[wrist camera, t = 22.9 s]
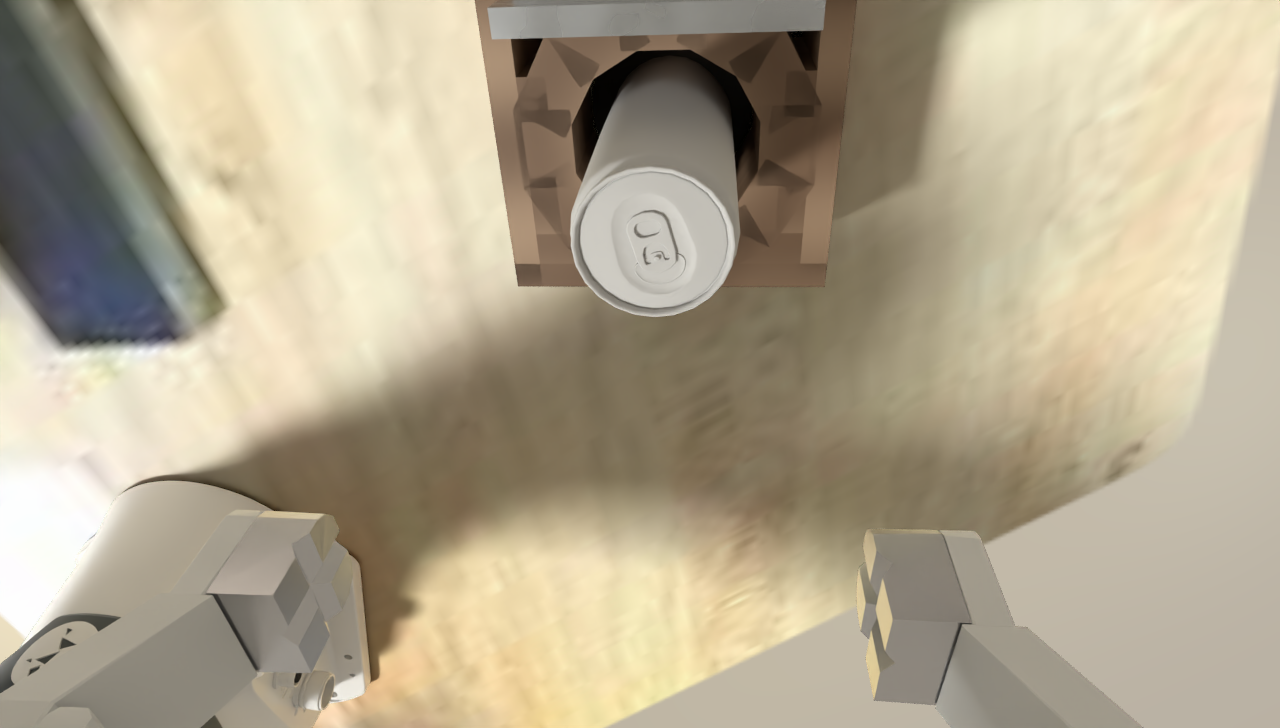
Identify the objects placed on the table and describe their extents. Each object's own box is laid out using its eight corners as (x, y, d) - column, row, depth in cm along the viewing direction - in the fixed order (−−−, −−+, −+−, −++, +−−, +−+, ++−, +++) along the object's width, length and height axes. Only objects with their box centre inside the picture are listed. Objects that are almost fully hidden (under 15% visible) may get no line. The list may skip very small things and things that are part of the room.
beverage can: (632, 184, 32) (598, 336, 22) (596, 72, 30) (539, 187, 20) (743, 155, 31) (758, 301, 21) (715, 35, 29) (717, 139, 19)
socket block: (810, 231, 33) (824, 286, 29) (541, 232, 34) (518, 286, 30) (855, -233, 24) (884, -247, 20) (485, -212, 25) (441, -221, 21)
